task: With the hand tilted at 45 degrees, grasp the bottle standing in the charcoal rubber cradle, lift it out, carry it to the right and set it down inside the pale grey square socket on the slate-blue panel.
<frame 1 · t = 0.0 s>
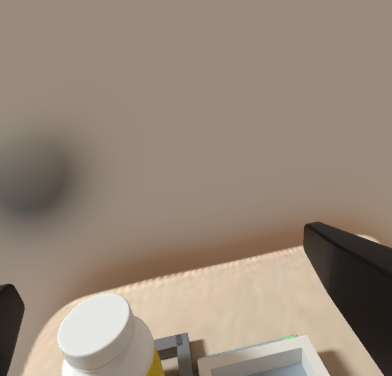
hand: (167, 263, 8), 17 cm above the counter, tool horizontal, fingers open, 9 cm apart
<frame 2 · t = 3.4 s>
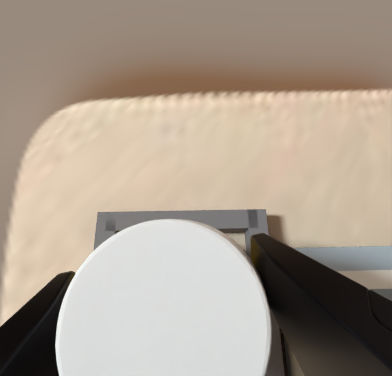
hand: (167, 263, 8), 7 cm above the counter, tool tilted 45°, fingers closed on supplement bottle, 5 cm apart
holster cradle: (183, 300, 14), on the counter
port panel: (371, 362, 13), on the counter
supplement bottle: (183, 300, 14), resting in holster cradle, touching gripper
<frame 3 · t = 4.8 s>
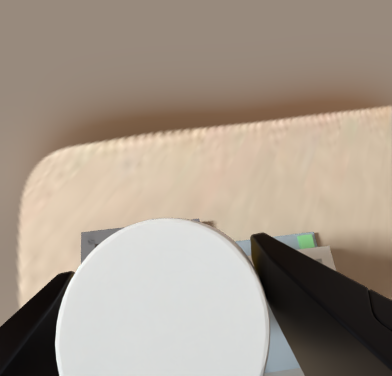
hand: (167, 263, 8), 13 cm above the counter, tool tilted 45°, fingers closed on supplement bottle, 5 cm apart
holster cradle: (147, 287, 20), on the counter
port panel: (274, 313, 20), on the counter
supplement bottle: (182, 299, 14), point 6 cm above the counter, touching gripper
when the fingers open (8 cm above the counter, at t = 6.7 s): supplement bottle stays where it is, resting on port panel.
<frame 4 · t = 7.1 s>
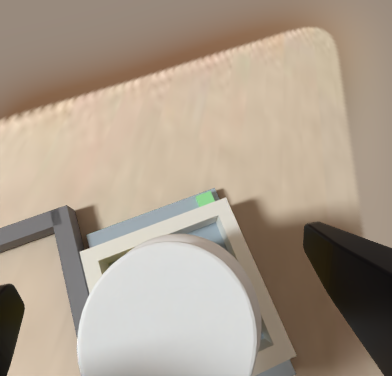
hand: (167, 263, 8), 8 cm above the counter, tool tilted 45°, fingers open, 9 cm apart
holster cradle: (13, 309, 15), on the counter
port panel: (183, 298, 16), on the counter
supplement bottle: (185, 302, 15), resting on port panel
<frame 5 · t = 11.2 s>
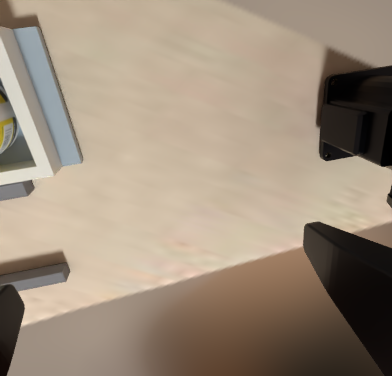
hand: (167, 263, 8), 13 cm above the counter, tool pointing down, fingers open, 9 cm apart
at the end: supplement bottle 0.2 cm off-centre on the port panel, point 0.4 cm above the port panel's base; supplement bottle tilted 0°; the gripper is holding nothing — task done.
